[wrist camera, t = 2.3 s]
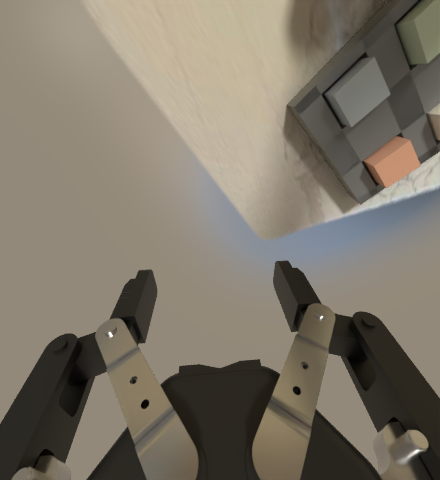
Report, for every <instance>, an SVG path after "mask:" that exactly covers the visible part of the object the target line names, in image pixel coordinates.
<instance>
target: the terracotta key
mask: <svg viewBox="0 0 440 480" xmlns="http://www.w3.org/2000/svg"><path fill="white" fill-rule="evenodd" d="M364 163H365V165H366V166H367V168H368V170H369V172H370V173H371V175H372V177H373V178H374V180H375V182H377V183H379V184H380V185H382V186H383V187H385V188H388V187H389V186H391V185H392V184H394V183H395V182H397V181H398V180H400V179H401V178H403V177H404V176H406V175H407V174H409V173H410V172H412V171H413V170H415V169H416V168H418V167H419V166H421V165H420V162H419V160H418V158H417V155H416V153H415V150H414V148H413V146H412V143H411V141H410V140H408V139H405V138H401V137H398V136H395V137H394V138H393V139H391V140H390V141H389V142H387V143H386V144H385V145H383V146H382V147H381V148H379V149H378V150H377V151H375V152H374V153H373V154H371V155H370V156H369V157H367V158H366V159H365V160H364Z"/></svg>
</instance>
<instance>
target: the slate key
mask: <svg viewBox="0 0 440 480" xmlns="http://www.w3.org/2000/svg"><path fill="white" fill-rule="evenodd" d="M324 95H325V97H326V99H327V100H328V102H329V104H330V105H331V107H332V109H333V110H334V112H335V114H336V116H337V117H338V119H339V121H340V122H341V124H344V125H347V126H350V127H353V126H354V125H355V124H356V123H357V122H358V121H360V120H361V119H362V118H363V117H364V116H366V115H367V114H368V113H369V112H370V111H372V110H373V109H374V108H375V107H376V106H377V105H379V104H380V103H381V102H382V101H383V100H385V99H386V98H387V97H388V96H389V95H391V94H390V92H389V89H388V87H387V85H386V82H385V80H384V78H383V75H382V73H381V71H380V68H379V66H378V63H377V61H376V59H375V57H370V58H363V59H360V60H359V61H358V62H357V63H356V64H355V65H354V66H353V67H352V68H350V69H349V70H348V71H347V72H346V73H345V74H344V75H343V76H342V77H341V78H340V79H339V80H338V81H337V82H336V83H335V84H334V85H333V86H332V87H331V88H330V89H329V90H328V91H327V92H326V93H325V94H324Z"/></svg>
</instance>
